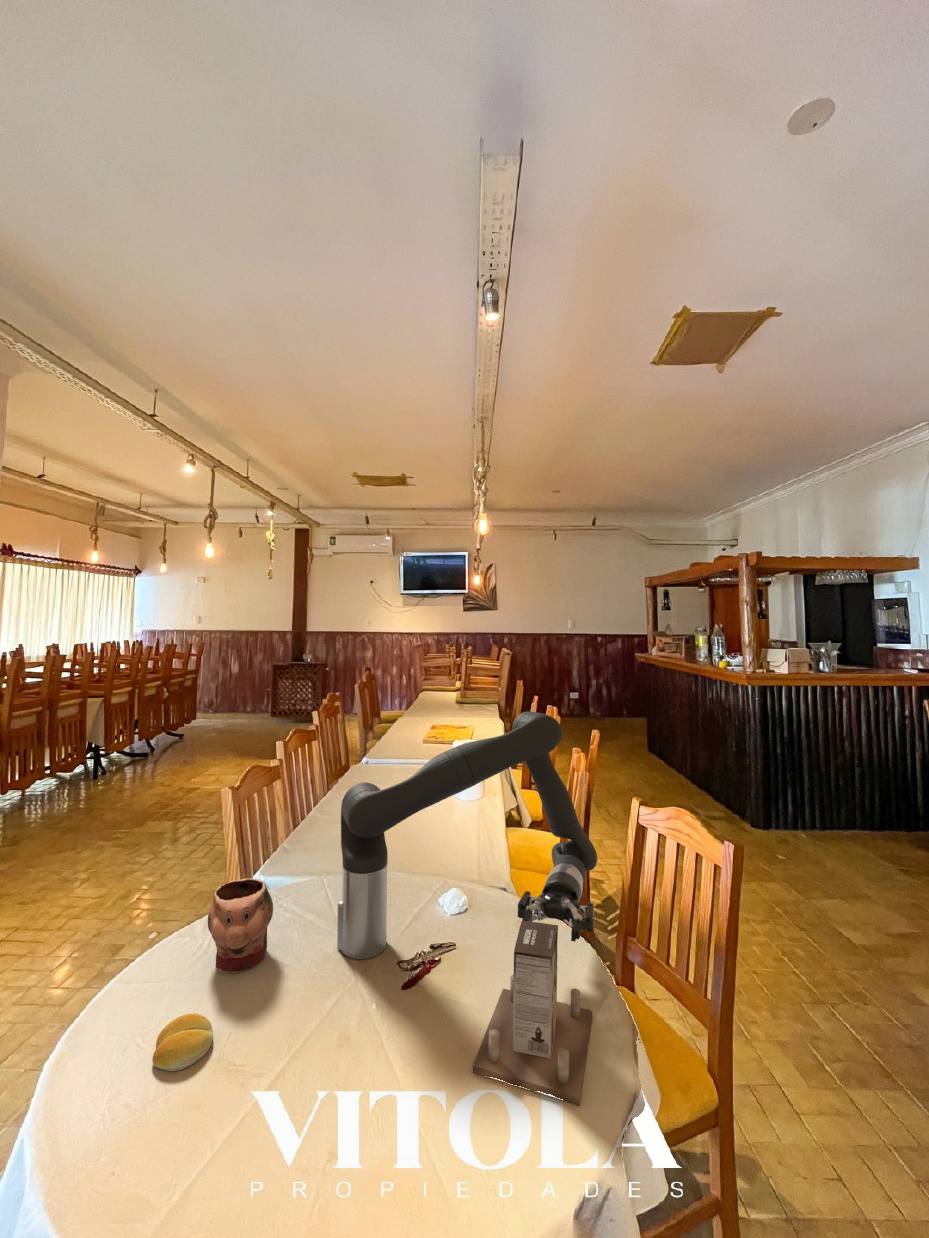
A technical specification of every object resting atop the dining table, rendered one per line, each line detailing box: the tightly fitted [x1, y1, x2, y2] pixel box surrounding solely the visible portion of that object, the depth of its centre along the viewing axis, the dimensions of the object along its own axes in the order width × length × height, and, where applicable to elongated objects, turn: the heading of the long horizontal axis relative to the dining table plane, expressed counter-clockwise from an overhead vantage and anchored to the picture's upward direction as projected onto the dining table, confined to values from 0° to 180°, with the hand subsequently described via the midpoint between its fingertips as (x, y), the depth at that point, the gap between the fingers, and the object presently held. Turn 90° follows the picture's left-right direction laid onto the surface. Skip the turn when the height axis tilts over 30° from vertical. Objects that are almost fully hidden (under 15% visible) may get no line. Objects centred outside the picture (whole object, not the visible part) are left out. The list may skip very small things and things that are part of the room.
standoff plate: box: [472, 974, 593, 1106], centre depth 88 cm, size 16×18×5 cm
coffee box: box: [513, 920, 559, 1059], centre depth 88 cm, size 9×6×16 cm
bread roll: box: [151, 1013, 214, 1072], centre depth 86 cm, size 8×9×4 cm
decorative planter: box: [207, 877, 274, 973], centre depth 109 cm, size 20×12×14 cm, turn 24°
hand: (549, 931), depth 98 cm, fingers open, 8 cm apart
